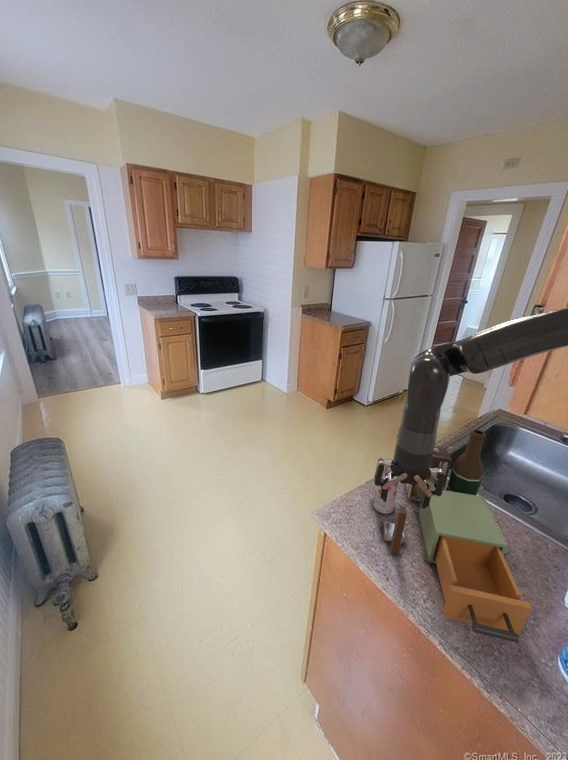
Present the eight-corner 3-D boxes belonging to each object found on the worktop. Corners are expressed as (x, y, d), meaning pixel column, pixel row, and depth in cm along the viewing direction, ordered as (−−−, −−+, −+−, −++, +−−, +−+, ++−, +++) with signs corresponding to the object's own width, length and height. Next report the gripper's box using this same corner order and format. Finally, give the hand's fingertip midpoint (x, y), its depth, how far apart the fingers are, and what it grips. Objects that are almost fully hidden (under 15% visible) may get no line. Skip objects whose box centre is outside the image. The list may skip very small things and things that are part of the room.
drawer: (530, 664, 57) (545, 636, 54) (449, 643, 60) (458, 615, 57) (492, 568, 74) (501, 543, 71) (430, 555, 77) (437, 531, 74)
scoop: (401, 532, 84) (409, 492, 80) (404, 556, 78) (413, 515, 73) (383, 528, 85) (390, 489, 81) (384, 552, 79) (392, 511, 74)
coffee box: (436, 491, 99) (447, 447, 93) (441, 506, 94) (453, 460, 88) (405, 486, 101) (414, 442, 95) (408, 500, 96) (417, 454, 90)
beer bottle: (457, 490, 100) (476, 422, 91) (479, 507, 93) (502, 436, 84) (438, 496, 97) (456, 427, 88) (459, 514, 91) (481, 442, 82)
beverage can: (397, 510, 92) (406, 467, 86) (382, 517, 89) (390, 472, 84) (383, 497, 96) (391, 455, 91) (368, 503, 94) (375, 460, 88)
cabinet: (496, 576, 73) (508, 545, 70) (428, 562, 76) (436, 532, 73) (475, 524, 87) (484, 496, 84) (418, 514, 90) (425, 486, 87)
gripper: (381, 448, 67) (372, 508, 73) (455, 458, 64) (439, 520, 70) (380, 430, 74) (371, 487, 80) (447, 438, 71) (433, 497, 77)
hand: (403, 502), depth 75 cm, fingers open, 8 cm apart
